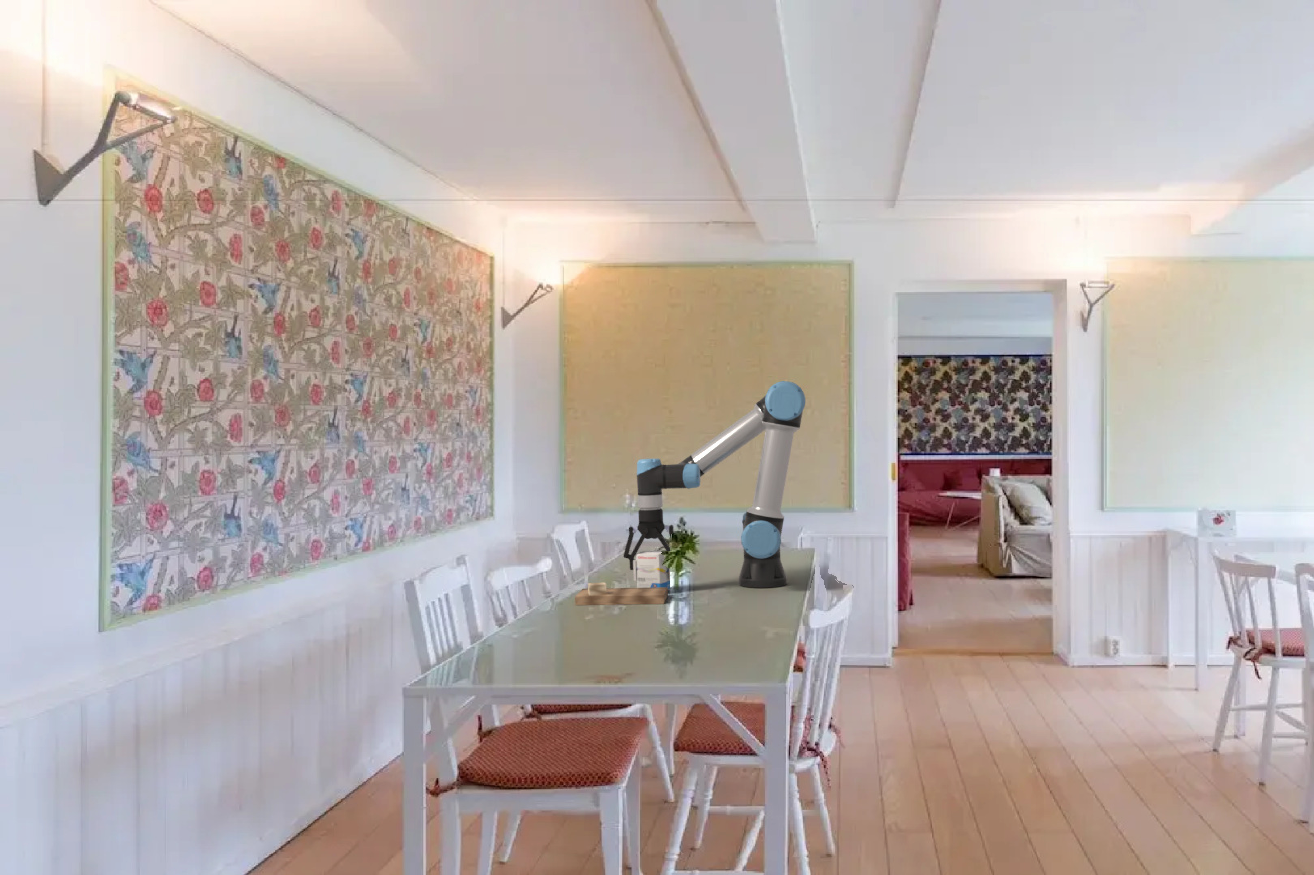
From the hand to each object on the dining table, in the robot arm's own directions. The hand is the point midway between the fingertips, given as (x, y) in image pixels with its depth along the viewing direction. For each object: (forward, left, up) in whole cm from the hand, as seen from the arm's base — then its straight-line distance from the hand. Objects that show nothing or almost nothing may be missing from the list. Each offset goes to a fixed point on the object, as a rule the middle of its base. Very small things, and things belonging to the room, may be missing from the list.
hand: (653, 580), depth 314 cm
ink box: (0, -1, -3) cm, 3 cm away
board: (+8, +12, -4) cm, 15 cm away
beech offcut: (+15, +15, -2) cm, 22 cm away
